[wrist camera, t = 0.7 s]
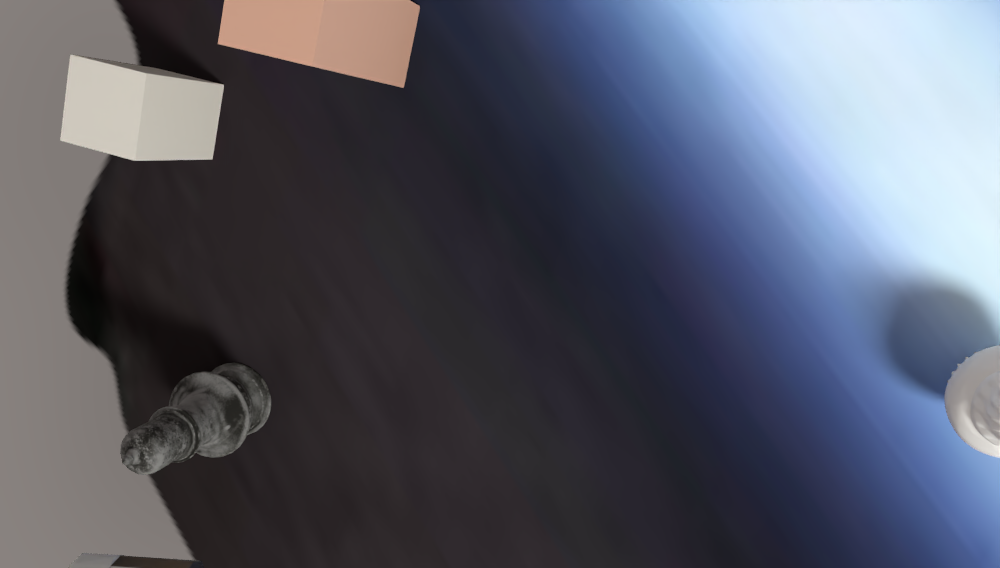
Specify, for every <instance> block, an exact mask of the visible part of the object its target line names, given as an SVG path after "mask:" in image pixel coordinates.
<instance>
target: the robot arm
mask: <svg viewBox="0 0 1000 568" xmlns="http://www.w3.org/2000/svg"><path fill="white" fill-rule="evenodd" d="M69 568H204V566H203V564H202V561H193V560H178V559H162V558H148V557H132V556H124V555H108V554H89V553H82V554H81V555H80V556H79V557H78V558H77V559H76V560H75V561H74V562H73V563H72V564H71V565H70V566H69Z"/></svg>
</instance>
